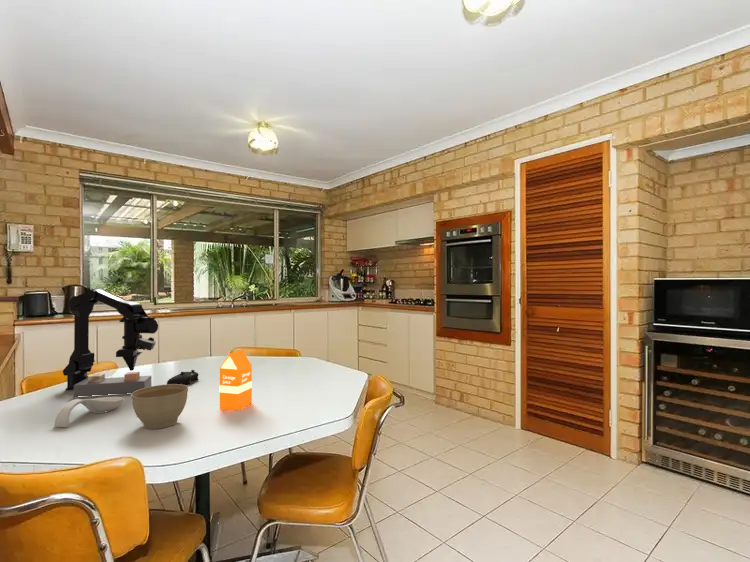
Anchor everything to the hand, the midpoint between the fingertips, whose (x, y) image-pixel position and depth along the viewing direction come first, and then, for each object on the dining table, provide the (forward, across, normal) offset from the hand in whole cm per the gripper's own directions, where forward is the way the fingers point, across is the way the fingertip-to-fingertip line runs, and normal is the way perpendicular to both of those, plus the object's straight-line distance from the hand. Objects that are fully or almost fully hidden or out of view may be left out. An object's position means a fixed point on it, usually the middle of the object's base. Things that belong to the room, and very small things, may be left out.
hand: (131, 370), depth 167 cm
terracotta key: (+5, 0, 0) cm, 5 cm away
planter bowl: (+9, -46, -22) cm, 52 cm away
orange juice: (+9, -33, -44) cm, 55 cm away
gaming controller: (+9, +10, -18) cm, 23 cm away
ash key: (+5, 0, +13) cm, 14 cm away
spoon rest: (+9, -30, +4) cm, 32 cm away
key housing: (+9, 0, +6) cm, 11 cm away
